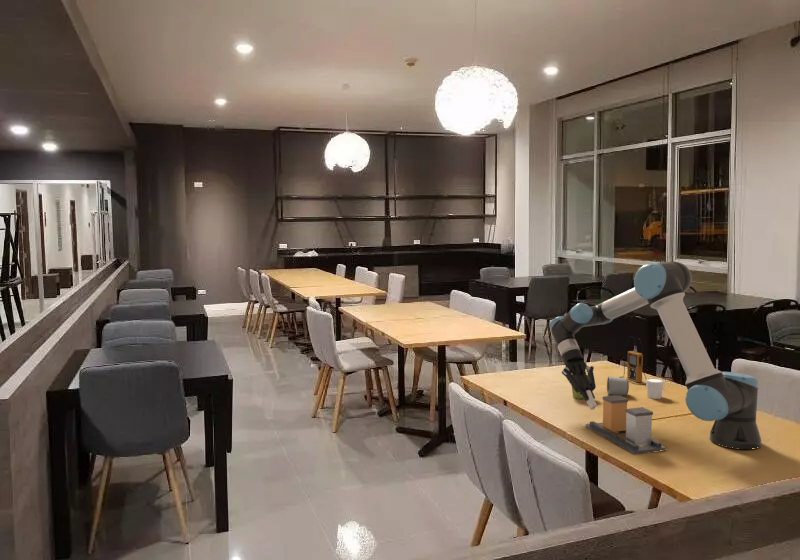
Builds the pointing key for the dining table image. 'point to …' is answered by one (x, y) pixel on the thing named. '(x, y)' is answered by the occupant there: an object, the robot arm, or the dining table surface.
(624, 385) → the ceramic mug
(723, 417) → the robot arm
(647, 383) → the tan white cylinder
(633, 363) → the multimeter
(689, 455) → the dining table surface
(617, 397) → the orange tall block
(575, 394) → the plant pot
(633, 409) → the gray canister tray
